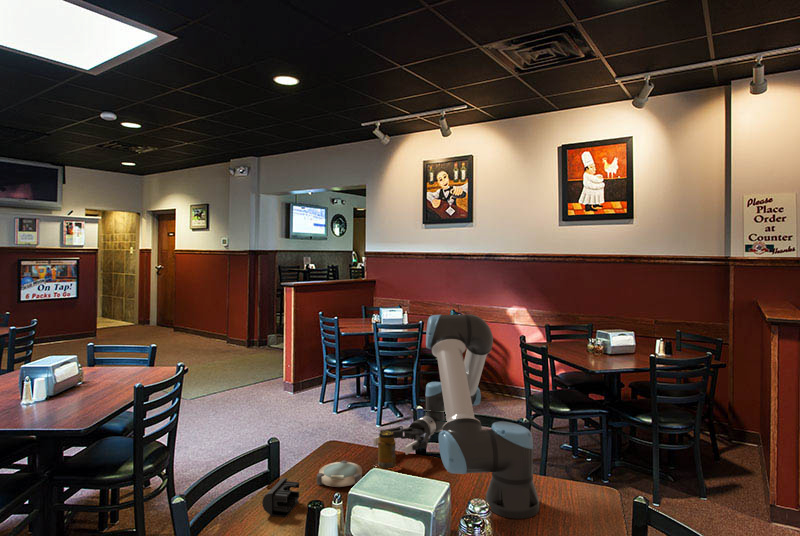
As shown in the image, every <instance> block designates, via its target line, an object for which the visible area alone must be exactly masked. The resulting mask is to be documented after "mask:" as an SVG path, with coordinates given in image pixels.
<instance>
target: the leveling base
mask: <svg viewBox="0 0 800 536" xmlns="http://www.w3.org/2000/svg"><path fill="white" fill-rule="evenodd" d="M362 477H363V469H362V467H361V466H360V465H359V464H357V463H355V462H350V461H348V460H343V459H342V460H341V461H335V462H331V463H327V464H325V465H323V466H322V467H321V468H320V469H319V471H318V473H317V474H316V485H318V486H323V485H325V486H329V487H332V488H333V487H336V488H341V487H343V488H344V487H348V486H352V485H353V486H354V484H355V483H357V481H359V480H360V479H361V480H362Z"/></svg>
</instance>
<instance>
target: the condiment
mask: <svg viewBox="0 0 800 536" xmlns="http://www.w3.org/2000/svg"><path fill="white" fill-rule="evenodd" d="M378 434H379V435H378V436H379V441H378V445H377V449H378V450H377V465H378V466H379V468H383V469H388V468H393V467H395V465H396V455H397V454H396V440H395V438H394V432H392V431H382V432H380V431H379V433H378ZM374 466H375V465H374ZM375 467H377V466H375ZM390 470H391V469H390Z"/></svg>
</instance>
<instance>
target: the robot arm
mask: <svg viewBox="0 0 800 536" xmlns="http://www.w3.org/2000/svg"><path fill="white" fill-rule="evenodd" d="M426 323H427V325H426V335H425V347H426V349H429V350H431V354H432V356H434V357H435V358H437V365H438V373H439V379H440V381H431V382H427V384H426V386H425V393H424V394H425V415H424V416H422V417H420V418H418V419H416V420H414V421H413V422H411V423H410V424H409V426H408V427H406V428H404V426H403V425H399V426H396V427H391V428H387V429H381V430H379V433H380V432H382V431H392V432H394V439H402V440H405V439H408V440H414V441H412V442H410V443H408V444H406V445H405V446H404V447H405V448H404V450H405V452H404V455H409V454H411V453H412V452H414V451H416V450H418V449H420V450H421V449H422V448H423V450H427V448H428V444H429V442H430V441H431V436H433V435H434V434H435V433H434V432H436V433H438V449H439V454H440V458H441V461H442V464H443V468H445V470H446V471H447V472H448V473H449V474H458V475H459V474H461V475H466V474H479V473H480V474H481V473H483V474H484V473H491V479H490V481H489V484H488V487H487V490H486V493H485V494H486V495H485V503H486V502H488V503H489V505H490V507H491V510H490V511H491V512H492V513H494V514H495V515H498V516H501V517H503V518H507V519H515V520H523V519H529V518H532V517H534V516H536V515H538V513H539V511H540V498H539V495H538V493H537V489H536V487H535V483H534V443H533V434H532V432H531V431H530V429H528V428H526V427H525V426H523V425H520V424H518V423H514V422H509V421H494V422H493V423H492V424H491V428H489V429H485V428H482V423H481V421H480V420H479V419H478V418H476V417H475V413H474V406H479V405H480V404H481V399H482V393H481V390H480V388H479V383H480V380H481V376H482V374H483V373H482V372H483V370H484V367H485V363H486V360H487V356H488V354H490V353H491V351H492V349H493V345H494V336H493V332H492V330H491V328H490V326H489V325H488V323H487V322H486V321H485V319H483V318H481V317H480V316H478V315H475V314H471V313H466V314H434V315H433V314H432V315H430V316H429V317H428V319H427V322H426ZM465 351H466V352H465ZM464 353H465V356H463V355H464ZM426 410H431V411H427V412H426ZM435 411H445V414H446V416H444V415H445V414H444V412H435ZM445 419H446V420H445ZM436 420H441V421H447V422H440V421H436ZM431 421H432V422H431ZM378 441H379V435H377V436H374V437H373V446H374V447H378Z"/></svg>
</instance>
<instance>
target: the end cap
mask: <svg viewBox="0 0 800 536" xmlns="http://www.w3.org/2000/svg"><path fill="white" fill-rule="evenodd" d="M291 488H295V489H299V488H300V482H299V481H288V477H283V478H281V479H280V480H278V482H276V484H275V485H274V486H273V487H271V489H270V490H269V491H268V492H267V493H266V494H265V495H264V497H262V502H261V505H262V508H263V510H264V511H265V513H267V514H268V515H270V516H271V517H274V518H275V517H276V518H278V517H279V518H288V516H289V515H290V514H291V513H292V512H293V510H294V509H295V507H296V506H297V505H298V504H299V497H300V491H295V490H291Z"/></svg>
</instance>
